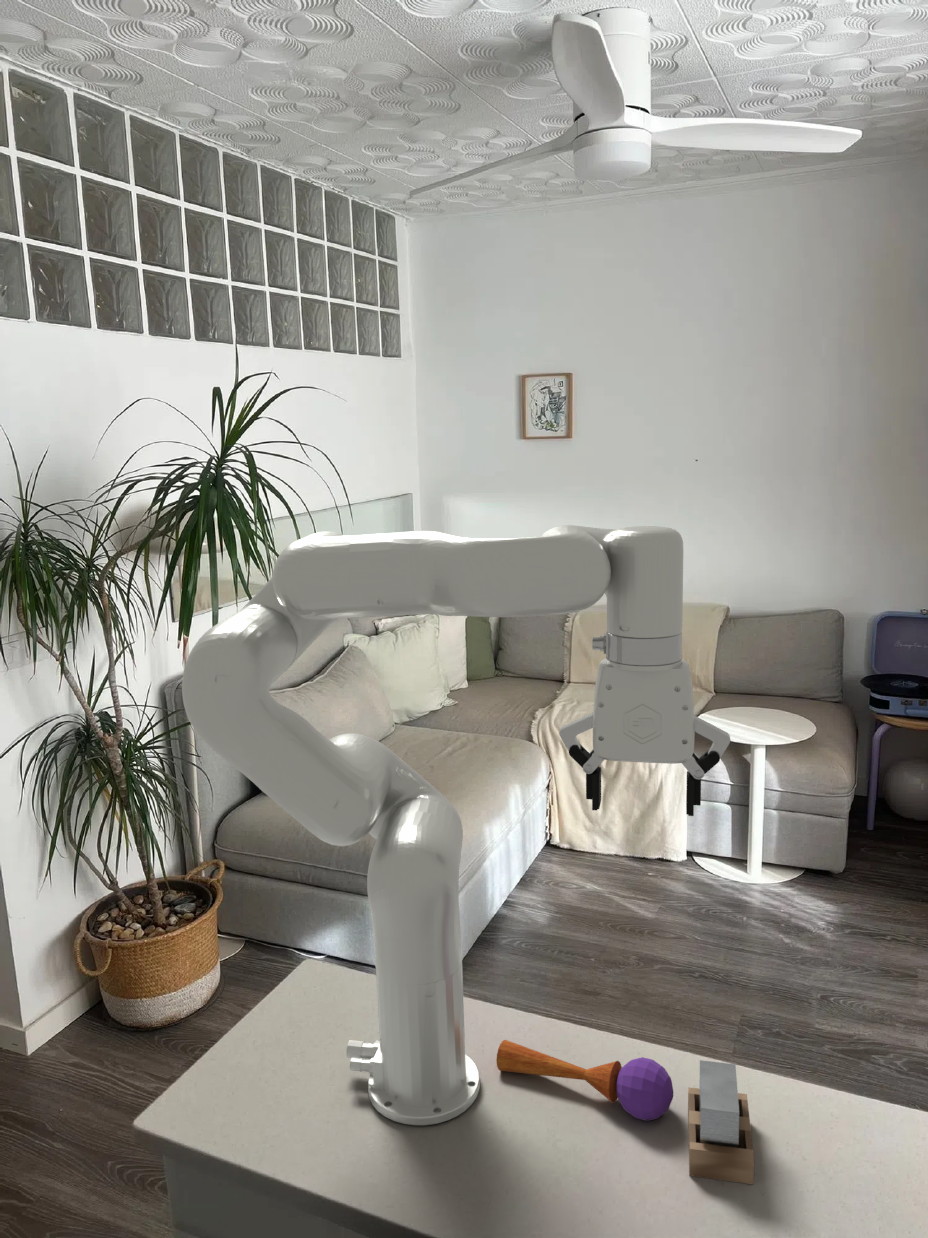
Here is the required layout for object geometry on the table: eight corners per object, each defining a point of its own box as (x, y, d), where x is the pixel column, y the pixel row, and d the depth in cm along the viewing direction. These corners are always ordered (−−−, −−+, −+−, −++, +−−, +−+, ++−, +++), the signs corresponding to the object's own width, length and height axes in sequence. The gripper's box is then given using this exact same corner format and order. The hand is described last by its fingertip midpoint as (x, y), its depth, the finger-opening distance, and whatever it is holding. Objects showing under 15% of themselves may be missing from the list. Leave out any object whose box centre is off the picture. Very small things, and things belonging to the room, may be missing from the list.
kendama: (514, 1020, 111) (679, 1055, 101) (514, 1070, 111) (680, 1111, 101) (490, 1039, 106) (662, 1078, 96) (491, 1092, 106) (663, 1137, 96)
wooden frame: (689, 1175, 92) (689, 1149, 91) (687, 1112, 100) (688, 1087, 100) (753, 1184, 90) (753, 1157, 90) (746, 1119, 99) (746, 1094, 98)
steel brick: (699, 1171, 92) (700, 1108, 91) (698, 1119, 99) (699, 1060, 98) (737, 1176, 91) (739, 1113, 90) (734, 1124, 98) (735, 1064, 97)
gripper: (554, 655, 93) (556, 817, 96) (734, 659, 89) (730, 828, 92) (563, 640, 100) (564, 791, 103) (730, 643, 96) (726, 800, 99)
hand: (642, 808), depth 98 cm, fingers open, 9 cm apart
